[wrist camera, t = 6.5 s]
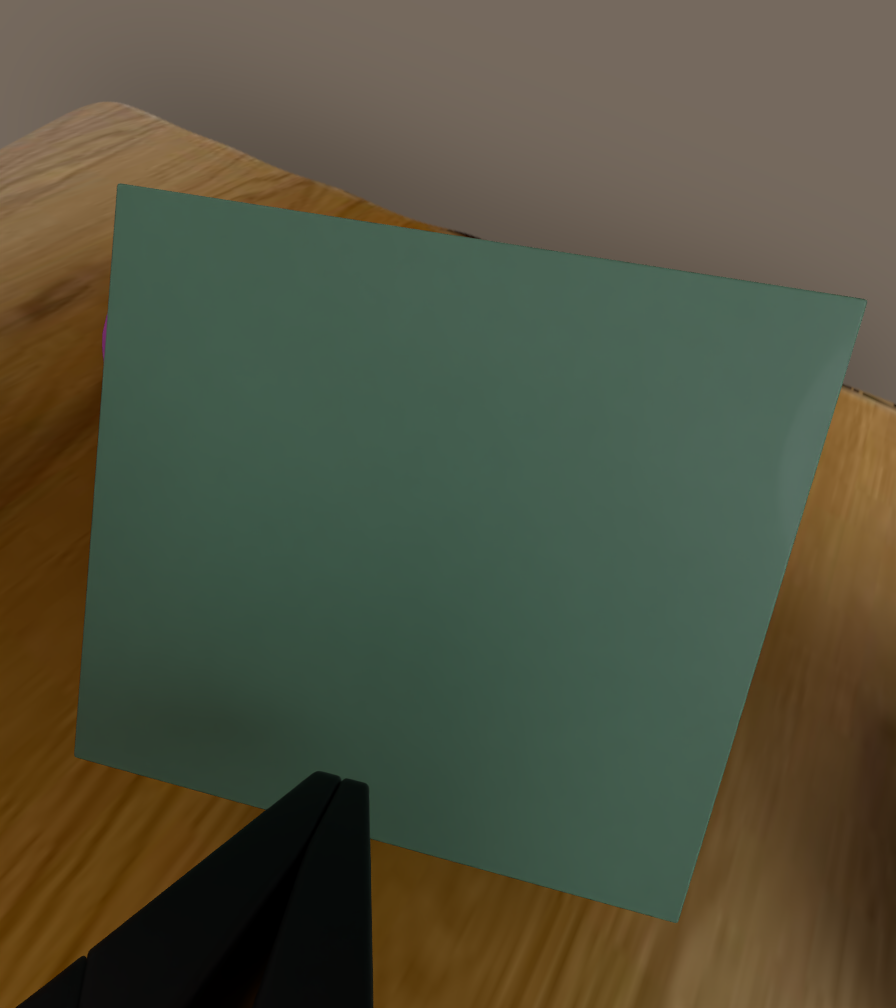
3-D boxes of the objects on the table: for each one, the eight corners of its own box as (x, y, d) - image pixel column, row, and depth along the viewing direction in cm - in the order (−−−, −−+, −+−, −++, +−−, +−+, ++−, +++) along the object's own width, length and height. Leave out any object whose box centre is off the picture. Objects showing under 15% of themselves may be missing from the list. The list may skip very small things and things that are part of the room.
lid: (147, 200, 10) (115, 181, 9) (839, 310, 9) (870, 298, 8) (101, 736, 12) (72, 757, 11) (667, 888, 11) (678, 925, 10)
